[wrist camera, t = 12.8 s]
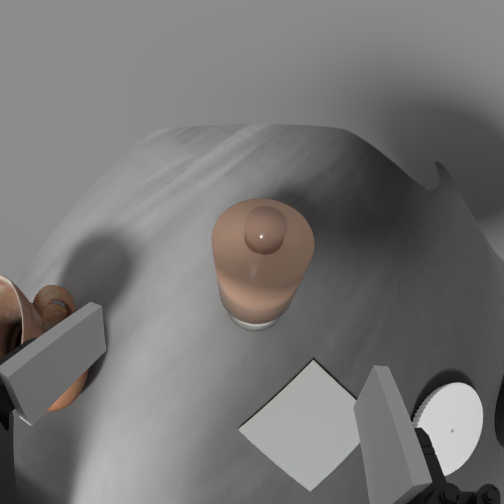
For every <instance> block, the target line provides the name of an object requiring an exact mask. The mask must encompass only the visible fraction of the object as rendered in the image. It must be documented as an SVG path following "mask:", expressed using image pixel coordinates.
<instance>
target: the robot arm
mask: <svg viewBox="0 0 504 504" xmlns="http://www.w3.org/2000/svg"><path fill="white" fill-rule="evenodd" d="M105 351H106V342H105V334H104V324H103V312H102V306H101V305H98V304H95V303H92V302H90V303H88V304H87V305H85V306H84V307H82V308H81V309H79V310H78V311H76V312H75V313H73V314H72V315H70V316H69V317H67V318H66V319H64V320H63V321H61V322H60V323H59V324H57V325H56V326H54V327H53V328H51V329H50V330H48V331H47V332H46V333H44V334H43V335H41V336H40V337H39V338H37V337H35V338H32V339H29V340H26V341H25V342H24V343H22V344H21V345H19V347H17V348H15V349H14V350H13V351H11V352H10V353H8V354H7V355H5V356H4V357H3V358H1V359H0V504H19V503H18V496H17V489H16V481H15V470H14V452H13V422H14V417H13V413H12V411H13V410H14V409H16V411H17V413H18V414H19V416H20V418H21V419H23V420H24V421H25V422H26V423H28V424H29V425H30V426H32V425H33V424H34V423H35V422H36V421H37V420H38V419H39V418H40V417H41V416H42V415H43V414H44V413H45V412H46V411H47V410H48V409H49V408H50V407H51V406H52V404H53V403H54V402H55V401H56V400H57V399H58V398H59V397H60V396H61V395H62V394H63V393H64V392H65V391H66V390H67V389H68V388H69V387H70V386H71V385H72V384H73V383H74V382H75V381H76V380H77V379H78V378H79V377H80V376H81V375H82V374H83V373H84V372H85V371H86V370H87V369H88V368H89V367H90V366H91V365H92V364H93V363H94V362H95V361H96V360H97V359H98V358H99V357H100V356H101V355H102V354H103V353H104V352H105ZM353 408H354V413H355V418H356V423H357V428H358V433H359V439H360V444H361V450H362V455H363V461H364V467H365V473H366V480H367V487H368V494H369V501H370V504H500V492H499V490H498V488H496V487H495V486H494V485H491V484H485V485H484V486H482V487H481V488H479V489H478V490H477V491H476V492H461V491H460V490H459V488H458V487H457V486H455V485H454V484H451V483H447V482H446V480H445V477H444V474H443V471H442V469H441V466H440V463H439V460H438V458H437V455H435V450H434V447H432V442H431V440H430V437H429V435H428V434H427V433H426V432H425V431H424V430H423V429H422V427H420V428H413V425H412V422H411V420H410V417H409V415H408V412H407V410H406V407H405V405H404V402H403V400H402V397H401V395H400V393H399V390H398V388H397V386H396V383H395V381H394V379H393V376H392V374H391V372H390V370H389V367H388V366H375V365H374V366H373V368H372V371H371V373H370V375H369V377H368V379H367V381H366V383H365V385H364V387H363V389H362V391H361V393H360V395H359V397H358V399H357V401H356V403H355V405H354V407H353ZM495 429H496V435H497V439H498V441H499V443H500V444H501V445H502V446H503V447H504V385H503V387H502V389H501V392H500V395H499V399H498V403H497V408H496V416H495Z"/></svg>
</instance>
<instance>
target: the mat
mask: <svg viewBox="0 0 504 504" xmlns="http://www.w3.org/2000/svg"><path fill="white" fill-rule="evenodd" d="M355 403H356V400H355V399H354V398H353V397H352V396H351V395H350V394H349V393H348V392H347V391H346V390H345V389H343V388H342V387H341V386H340V385H339V384H338V383H337V382H336V381H335V380H334V379H333V378H332V377H331V376H330V375H328V374H327V373H326V372H325V371H324V370H323V369H322V368H321V367H320V366H319V365H318V364H317V363H316V362H315V361H314V360H312V361H311V362H310V363H309V364H308V365H307V366H306V367H305V368H304V369H303V370H302V372H300V373H299V374H298V375H297V376H296V377H295V378H294V379H293V380H292V381H291V382H290V383H289V384H288V385H287V386H286V387H285V388H284V389H283V390H282V391H281V392H280V393H279V394H278V395H277V396H276V397H274V398H273V399H272V400H271V401H270V402H269V403H268V404H267V405H266V406H264V407H263V408H262V409H261V410H260V411H259V412H258V413H257V414H255V415H254V416H253V417H252V418H251V419H250V420H248V421H247V422H246V423H245V424H244V425H242V426H241V427H240V428H239V429H238V430H239V431H240V432H241V433H242V434H243V435H244V436H245V437H247V438H248V439H249V440H250V441H251V442H252V443H253V444H254V445H255V446H256V447H257V448H258V449H259V450H261V451H262V452H263V453H264V454H265V455H266V456H267V457H268V458H270V459H271V460H272V461H273V462H274V463H275V464H277V465H278V466H279V467H280V468H281V469H283V470H284V471H285V472H286V473H287V474H289V475H290V476H291V477H292V478H294V479H295V480H296V481H297V482H299V483H300V484H301V485H303V486H304V487H305V488H306V489H308V490H309V491H311V490H312V489H313V488H314V487H316V486H317V485H318V484H319V483H320V482H321V481H322V480H323V479H324V478H326V477H327V476H328V475H329V474H330V473H331V472H332V471H333V470H334V469H335V468H336V467H337V466H338V465H339V464H340V463H341V462H342V461H343V460H344V459H345V458H346V457H347V456H348V455H349V454H350V453H351V452H352V450H353V449H354V448H355V447H356V446H357V445H358V444H359V443H360V439H359V433H358V428H357V423H356V418H355V413H354V408H353V407H354V405H355Z"/></svg>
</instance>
